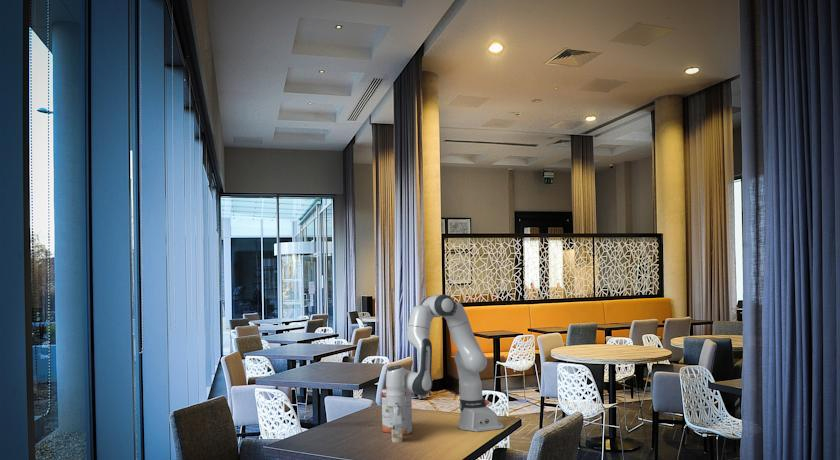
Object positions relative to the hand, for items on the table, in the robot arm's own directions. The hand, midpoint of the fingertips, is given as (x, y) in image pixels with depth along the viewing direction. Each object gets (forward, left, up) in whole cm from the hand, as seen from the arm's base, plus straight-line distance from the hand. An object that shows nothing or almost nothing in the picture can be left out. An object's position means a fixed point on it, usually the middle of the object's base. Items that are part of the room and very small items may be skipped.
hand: (395, 431), depth 293 cm
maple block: (-1, 0, -4) cm, 4 cm away
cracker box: (-3, -16, -5) cm, 17 cm away
